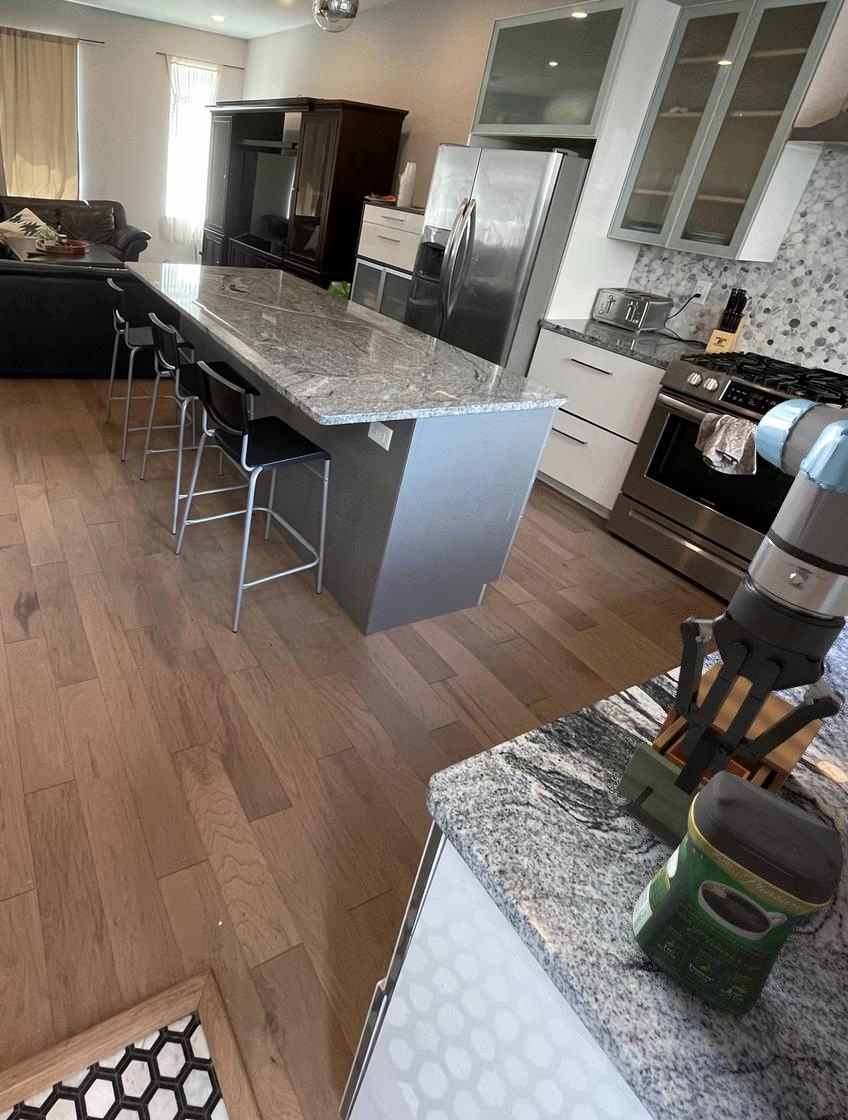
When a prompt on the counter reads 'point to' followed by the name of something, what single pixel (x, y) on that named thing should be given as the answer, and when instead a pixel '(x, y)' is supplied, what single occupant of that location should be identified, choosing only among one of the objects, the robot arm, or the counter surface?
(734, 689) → the cabinet
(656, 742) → the drawer
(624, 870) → the counter surface
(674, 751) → the brown open box
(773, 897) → the coffee jar
